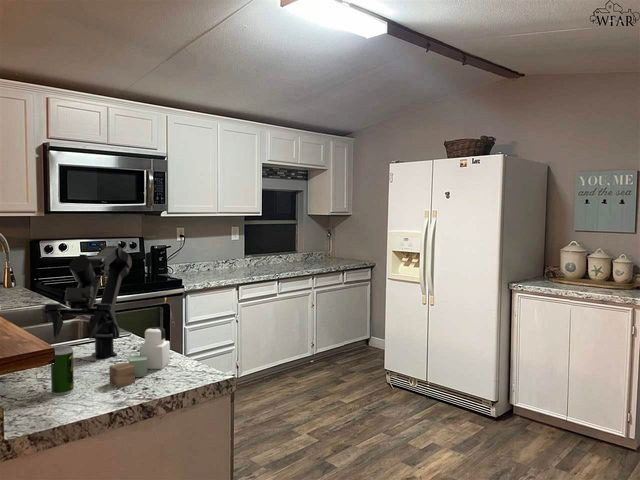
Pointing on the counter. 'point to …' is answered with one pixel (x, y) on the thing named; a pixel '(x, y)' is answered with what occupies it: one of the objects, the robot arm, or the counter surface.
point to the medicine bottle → (156, 348)
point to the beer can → (62, 371)
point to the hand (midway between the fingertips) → (72, 337)
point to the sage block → (139, 365)
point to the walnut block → (122, 374)
